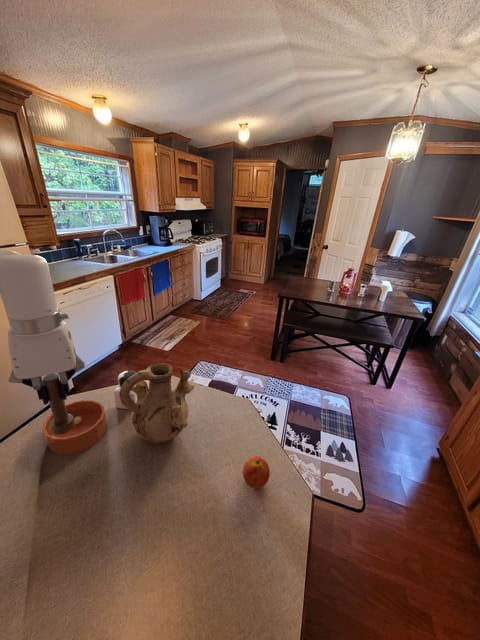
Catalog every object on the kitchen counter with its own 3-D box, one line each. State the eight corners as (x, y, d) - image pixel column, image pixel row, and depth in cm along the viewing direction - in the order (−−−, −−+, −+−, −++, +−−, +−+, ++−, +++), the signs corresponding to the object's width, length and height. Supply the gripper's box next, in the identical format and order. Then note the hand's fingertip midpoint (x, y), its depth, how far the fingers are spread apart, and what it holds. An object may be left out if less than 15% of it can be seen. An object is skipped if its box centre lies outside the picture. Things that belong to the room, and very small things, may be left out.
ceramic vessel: (187, 460, 71) (187, 387, 61) (117, 460, 69) (105, 386, 59) (194, 412, 88) (194, 349, 78) (137, 412, 86) (130, 348, 76)
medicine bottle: (145, 396, 93) (142, 369, 88) (135, 410, 86) (132, 381, 82) (126, 394, 93) (122, 367, 89) (115, 408, 87) (111, 379, 82)
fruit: (250, 464, 71) (252, 443, 68) (272, 477, 68) (276, 456, 65) (236, 484, 66) (239, 463, 62) (260, 500, 62) (264, 478, 59)
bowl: (45, 464, 67) (40, 448, 64) (49, 424, 79) (45, 409, 76) (109, 442, 74) (106, 426, 72) (104, 408, 86) (101, 394, 84)
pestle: (51, 437, 56) (36, 386, 50) (52, 423, 59) (38, 374, 54) (74, 430, 58) (62, 380, 53) (74, 417, 61) (63, 369, 56)
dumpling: (73, 427, 77) (72, 421, 77) (73, 422, 79) (72, 416, 78) (82, 424, 79) (81, 418, 78) (82, 419, 81) (81, 413, 80)
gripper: (84, 309, 55) (96, 379, 62) (-16, 320, 47) (11, 398, 54) (85, 323, 49) (99, 398, 56) (-29, 337, 41) (3, 422, 48)
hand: (55, 397), depth 55 cm, fingers closed on pestle, 2 cm apart
